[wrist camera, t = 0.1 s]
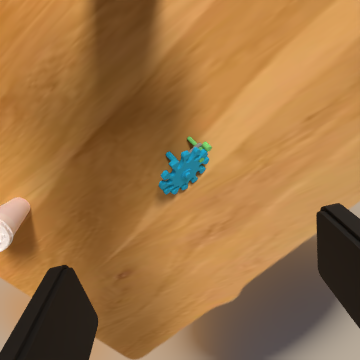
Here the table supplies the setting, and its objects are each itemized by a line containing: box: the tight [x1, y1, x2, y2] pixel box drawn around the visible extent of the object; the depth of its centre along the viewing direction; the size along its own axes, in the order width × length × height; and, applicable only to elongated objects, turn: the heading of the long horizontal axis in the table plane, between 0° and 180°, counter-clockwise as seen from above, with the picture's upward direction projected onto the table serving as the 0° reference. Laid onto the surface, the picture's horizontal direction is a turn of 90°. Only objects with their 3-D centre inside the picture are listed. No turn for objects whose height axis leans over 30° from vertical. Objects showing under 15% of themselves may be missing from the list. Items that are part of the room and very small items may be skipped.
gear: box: [159, 136, 212, 195], centre depth 45 cm, size 11×6×10 cm
